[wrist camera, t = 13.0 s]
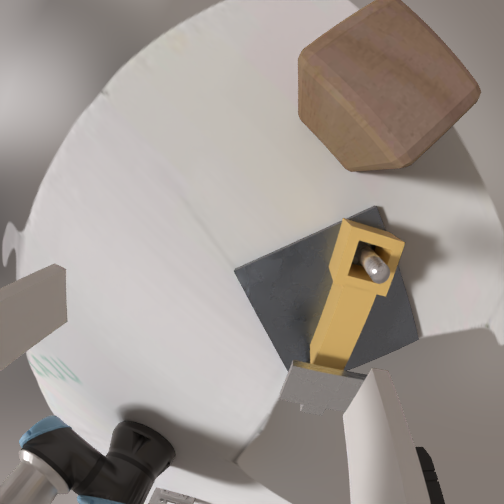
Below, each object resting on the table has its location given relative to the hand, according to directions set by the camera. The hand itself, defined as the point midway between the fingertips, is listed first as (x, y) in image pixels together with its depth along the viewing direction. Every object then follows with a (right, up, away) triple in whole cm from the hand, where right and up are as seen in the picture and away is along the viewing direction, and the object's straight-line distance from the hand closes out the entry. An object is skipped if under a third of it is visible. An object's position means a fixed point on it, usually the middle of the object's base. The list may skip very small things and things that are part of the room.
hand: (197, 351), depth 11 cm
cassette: (-20, -65, +50) cm, 84 cm away
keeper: (+12, -11, +30) cm, 35 cm away
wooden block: (+14, +20, +22) cm, 33 cm away
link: (+14, -1, +27) cm, 30 cm away
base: (+13, -4, +28) cm, 32 cm away
